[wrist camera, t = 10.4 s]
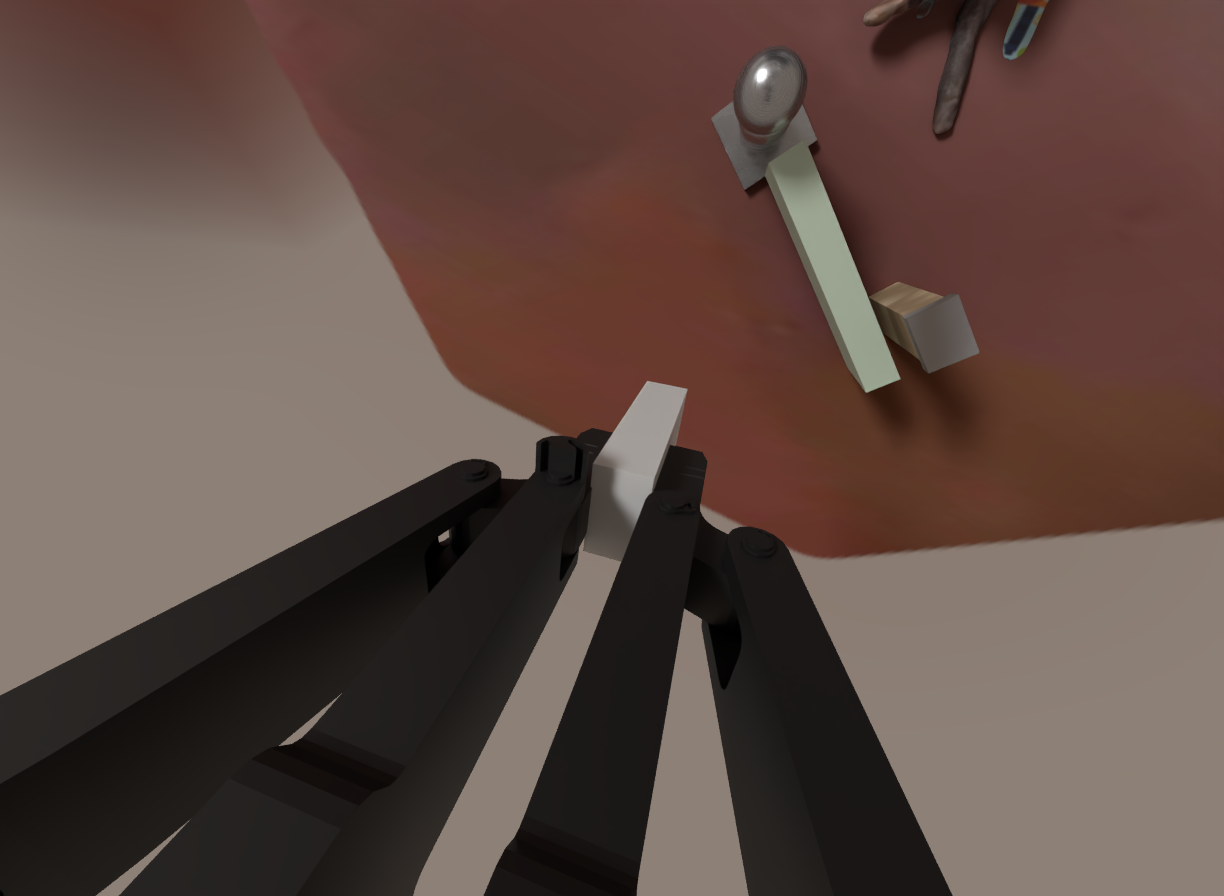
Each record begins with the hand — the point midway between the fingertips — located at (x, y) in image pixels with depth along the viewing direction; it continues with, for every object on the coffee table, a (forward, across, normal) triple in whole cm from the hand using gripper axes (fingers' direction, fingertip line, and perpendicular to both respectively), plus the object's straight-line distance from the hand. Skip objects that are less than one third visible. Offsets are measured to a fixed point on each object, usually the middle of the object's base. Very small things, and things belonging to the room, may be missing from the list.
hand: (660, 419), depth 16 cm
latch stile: (+22, +13, +3) cm, 26 cm away
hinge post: (+22, +1, +12) cm, 26 cm away
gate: (+21, +7, +5) cm, 23 cm away
